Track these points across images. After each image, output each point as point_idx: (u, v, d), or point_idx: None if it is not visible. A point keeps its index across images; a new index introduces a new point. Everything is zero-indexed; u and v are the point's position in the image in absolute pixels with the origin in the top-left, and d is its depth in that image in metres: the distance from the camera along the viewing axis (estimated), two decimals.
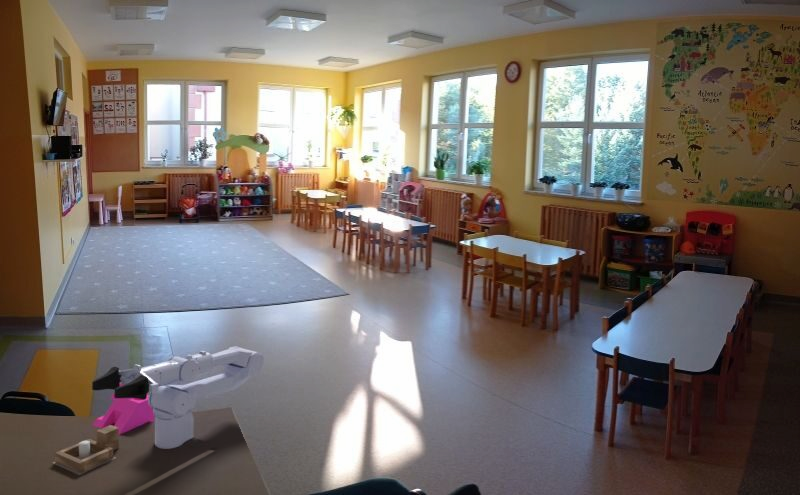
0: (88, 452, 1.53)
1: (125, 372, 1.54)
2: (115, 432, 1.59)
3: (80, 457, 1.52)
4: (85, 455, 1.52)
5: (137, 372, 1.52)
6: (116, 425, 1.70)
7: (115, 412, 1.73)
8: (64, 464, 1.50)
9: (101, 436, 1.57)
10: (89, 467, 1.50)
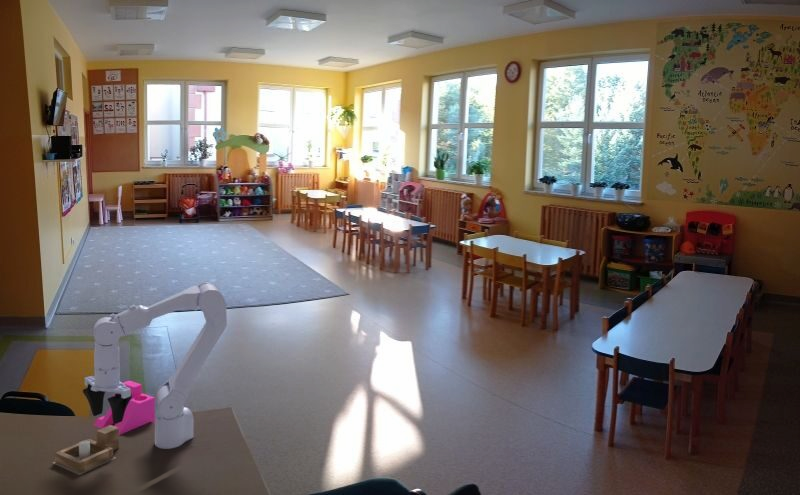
0: (88, 452, 1.53)
1: None
2: (115, 432, 1.59)
3: (80, 457, 1.52)
4: (85, 455, 1.52)
5: None
6: (116, 425, 1.69)
7: None
8: (64, 464, 1.50)
9: (101, 436, 1.57)
10: (89, 467, 1.50)
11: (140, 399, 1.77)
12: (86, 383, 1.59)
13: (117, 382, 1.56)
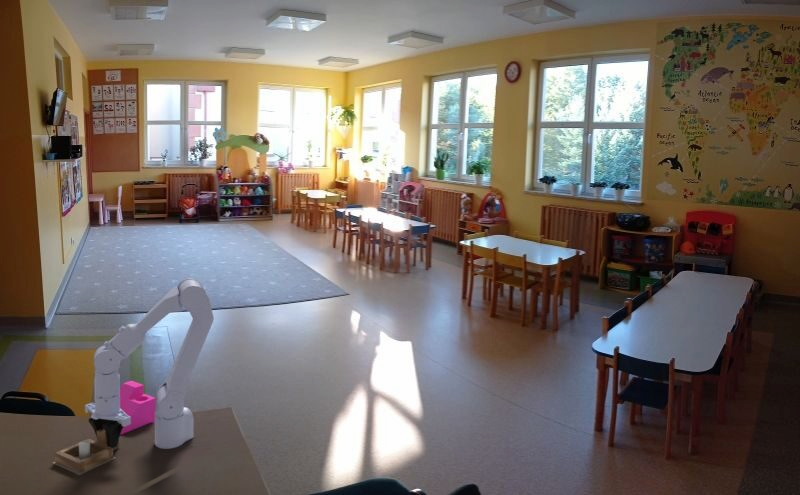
0: (88, 452, 1.53)
1: None
2: None
3: (80, 457, 1.52)
4: (85, 455, 1.52)
5: None
6: None
7: None
8: (64, 464, 1.50)
9: (101, 436, 1.57)
10: (89, 467, 1.50)
11: (141, 399, 1.77)
12: (86, 410, 1.60)
13: (117, 410, 1.57)
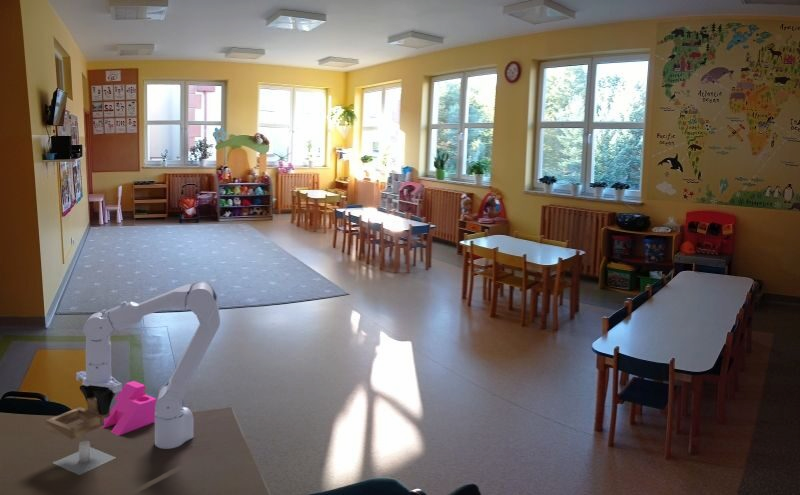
0: (88, 452, 1.53)
1: None
2: None
3: (80, 457, 1.52)
4: (85, 455, 1.52)
5: None
6: (117, 426, 1.69)
7: (118, 412, 1.73)
8: (55, 431, 1.50)
9: (91, 404, 1.57)
10: (80, 434, 1.50)
11: (143, 400, 1.77)
12: (78, 378, 1.60)
13: (108, 377, 1.57)
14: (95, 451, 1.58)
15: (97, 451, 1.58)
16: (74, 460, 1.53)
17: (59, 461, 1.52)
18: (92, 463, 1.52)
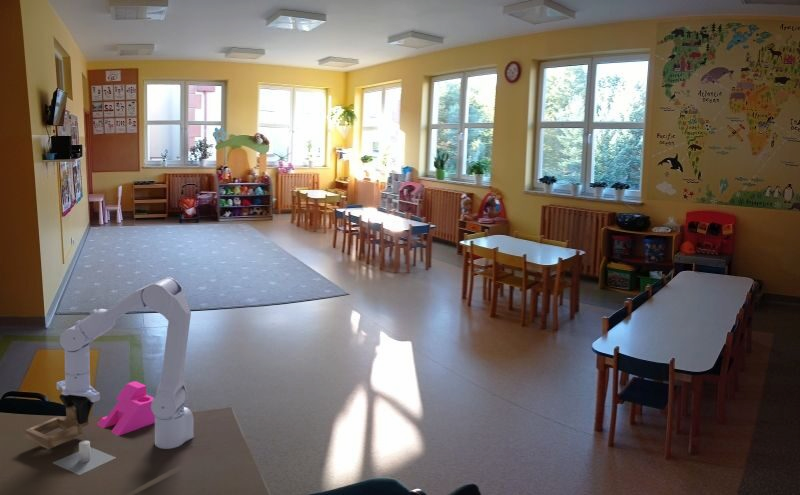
0: (88, 452, 1.53)
1: None
2: None
3: (80, 457, 1.52)
4: (85, 455, 1.52)
5: None
6: (117, 426, 1.69)
7: (118, 412, 1.73)
8: (34, 441, 1.55)
9: (70, 413, 1.62)
10: (58, 443, 1.55)
11: (143, 400, 1.76)
12: (58, 387, 1.65)
13: (87, 386, 1.62)
14: (95, 451, 1.58)
15: (97, 451, 1.58)
16: (74, 460, 1.53)
17: (59, 461, 1.52)
18: (92, 463, 1.52)
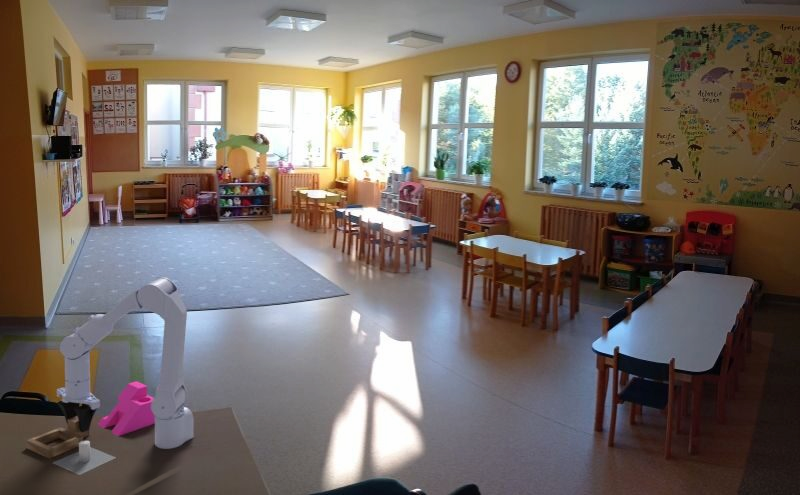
0: (88, 452, 1.53)
1: None
2: None
3: (80, 457, 1.52)
4: (85, 455, 1.52)
5: None
6: (117, 426, 1.69)
7: (119, 413, 1.73)
8: (35, 451, 1.56)
9: (71, 425, 1.63)
10: (58, 454, 1.55)
11: (144, 401, 1.76)
12: (58, 394, 1.66)
13: (87, 393, 1.63)
14: (95, 451, 1.58)
15: (97, 451, 1.58)
16: (74, 460, 1.53)
17: (59, 461, 1.52)
18: (92, 463, 1.52)
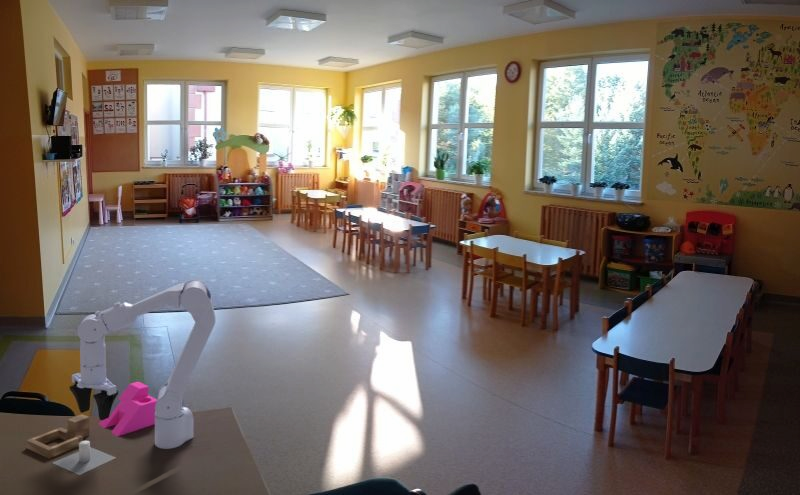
0: (88, 452, 1.53)
1: None
2: (85, 421, 1.65)
3: (80, 457, 1.52)
4: (85, 455, 1.52)
5: None
6: (117, 426, 1.69)
7: (120, 413, 1.73)
8: (35, 451, 1.56)
9: (71, 425, 1.63)
10: (58, 454, 1.55)
11: (145, 401, 1.76)
12: (73, 380, 1.60)
13: (103, 379, 1.57)
14: (95, 451, 1.58)
15: (97, 451, 1.58)
16: (74, 460, 1.53)
17: (59, 461, 1.52)
18: (92, 463, 1.52)
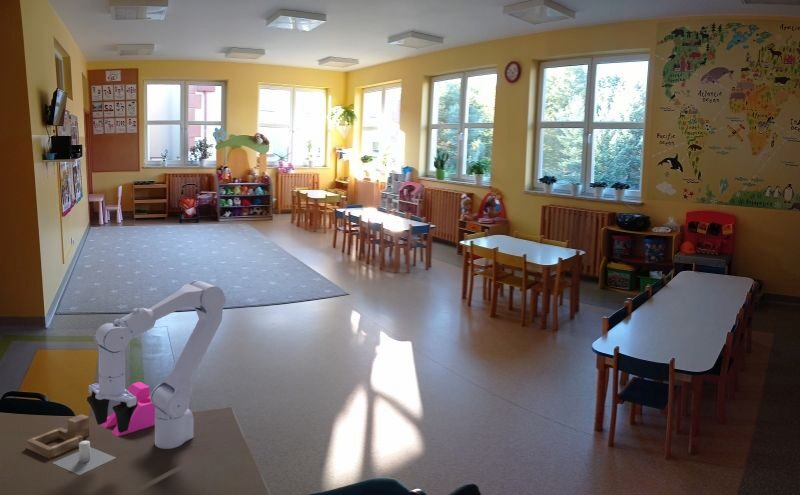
0: (88, 452, 1.53)
1: None
2: (85, 421, 1.65)
3: (80, 457, 1.52)
4: (85, 455, 1.52)
5: None
6: (117, 426, 1.69)
7: None
8: (35, 451, 1.56)
9: (71, 425, 1.63)
10: (58, 454, 1.55)
11: (146, 401, 1.76)
12: (90, 391, 1.54)
13: (122, 390, 1.51)
14: (95, 451, 1.58)
15: (97, 451, 1.58)
16: (74, 460, 1.53)
17: (59, 461, 1.52)
18: (92, 463, 1.52)
